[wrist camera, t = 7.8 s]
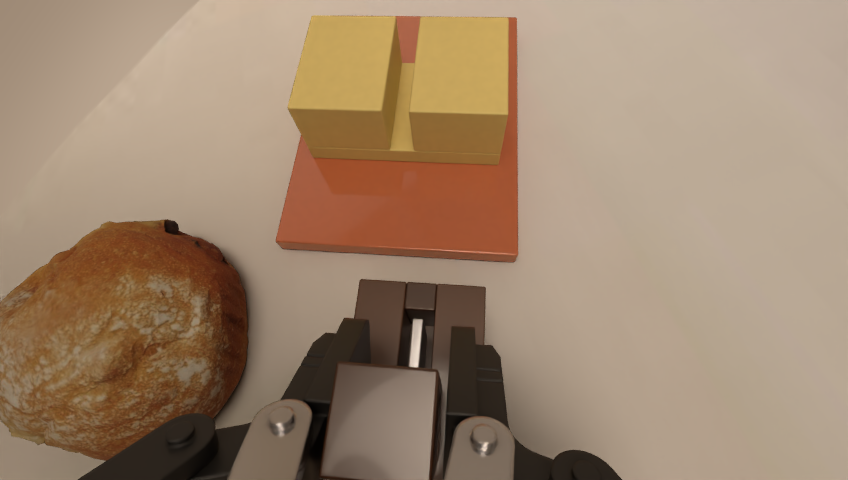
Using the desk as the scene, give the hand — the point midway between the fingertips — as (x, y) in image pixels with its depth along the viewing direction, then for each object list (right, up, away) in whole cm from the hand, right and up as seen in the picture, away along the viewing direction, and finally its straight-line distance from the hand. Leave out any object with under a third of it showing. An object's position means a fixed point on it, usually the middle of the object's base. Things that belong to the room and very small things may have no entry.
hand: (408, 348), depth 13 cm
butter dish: (0, +10, +12) cm, 15 cm away
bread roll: (-12, -1, +8) cm, 15 cm away
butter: (0, +10, +11) cm, 15 cm away
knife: (0, -4, +4) cm, 6 cm away
